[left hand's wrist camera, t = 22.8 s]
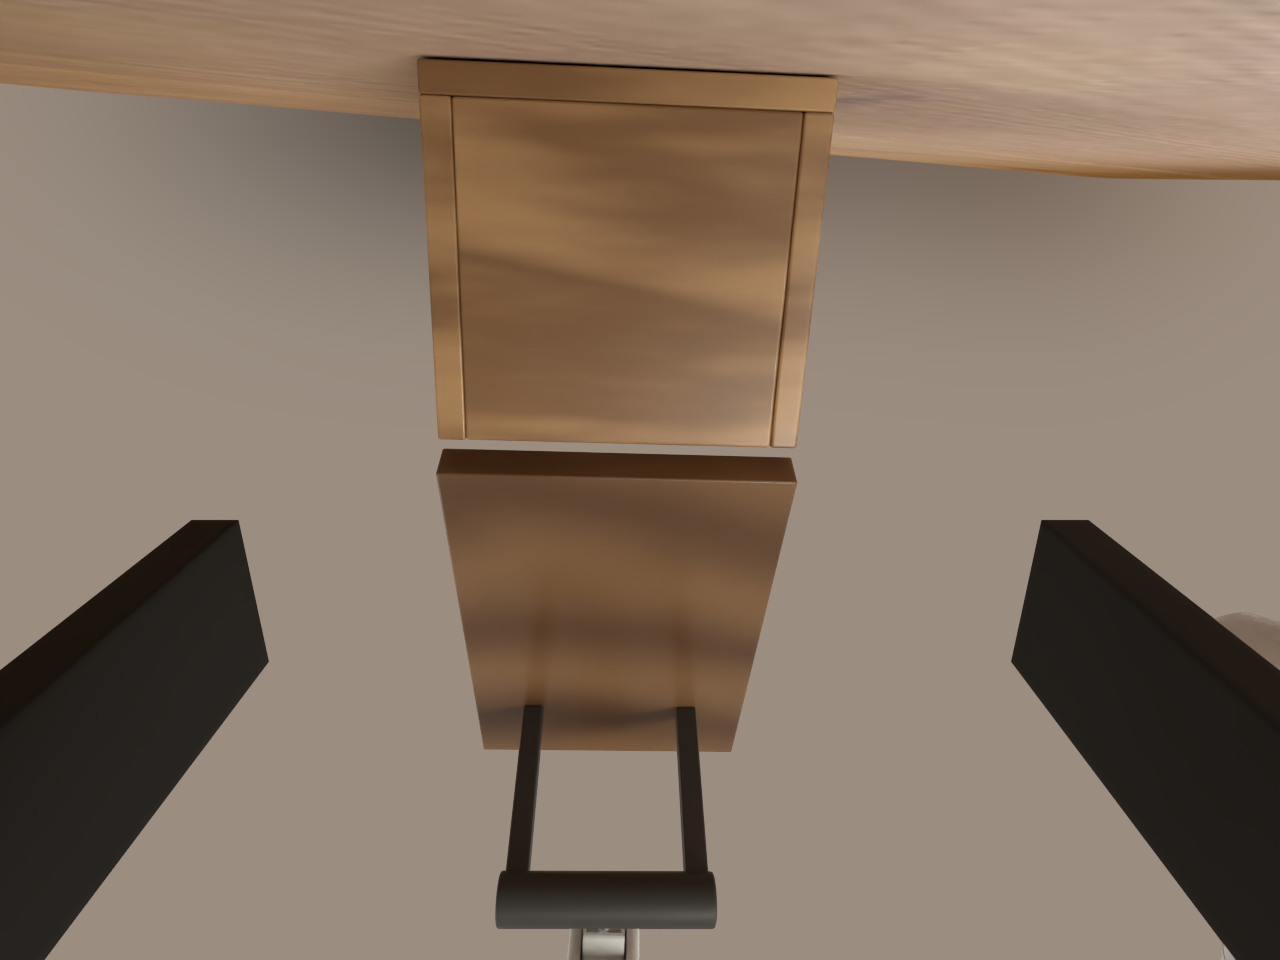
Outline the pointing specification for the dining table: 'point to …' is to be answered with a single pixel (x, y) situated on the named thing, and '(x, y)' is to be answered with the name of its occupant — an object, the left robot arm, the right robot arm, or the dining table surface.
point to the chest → (621, 250)
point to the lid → (611, 638)
